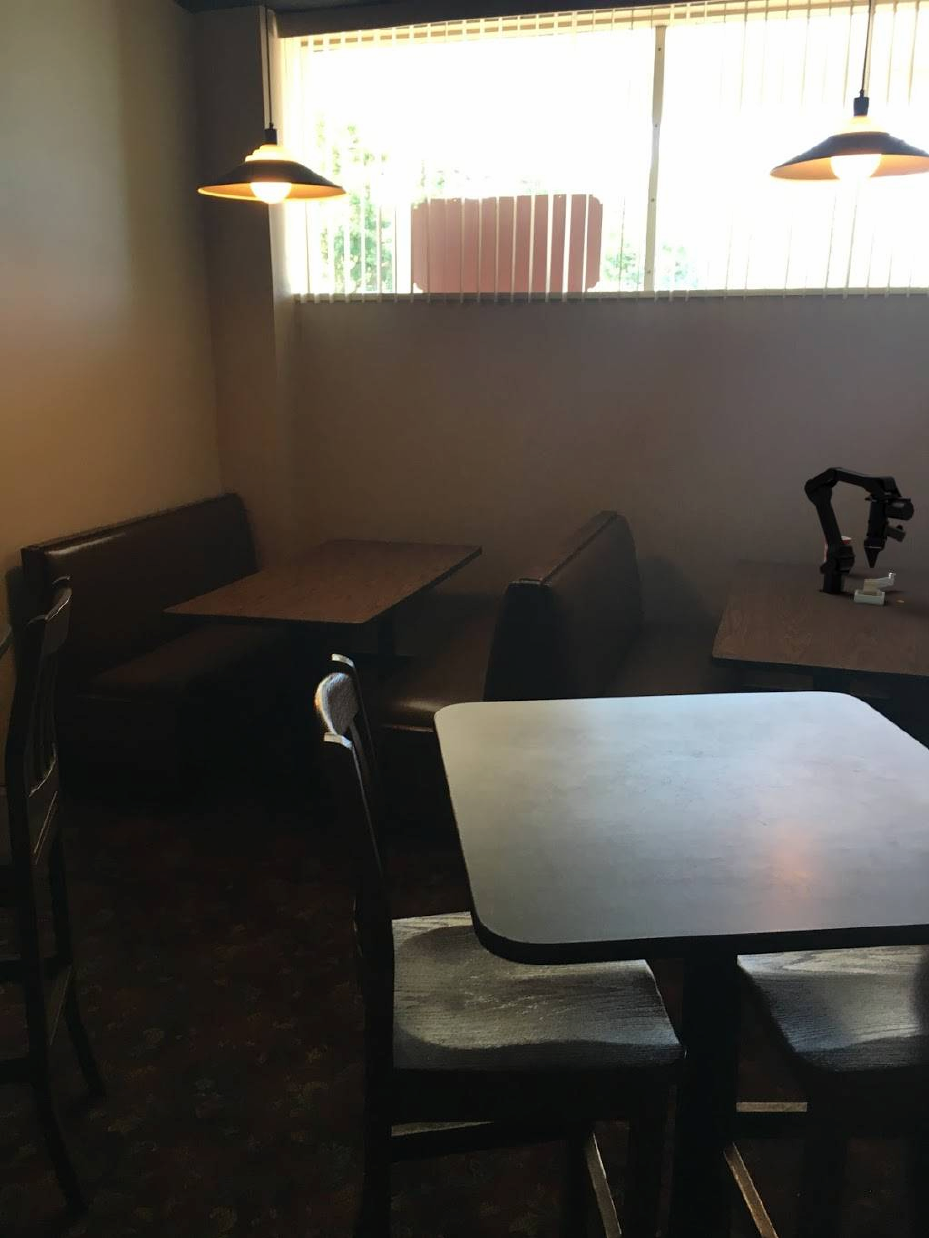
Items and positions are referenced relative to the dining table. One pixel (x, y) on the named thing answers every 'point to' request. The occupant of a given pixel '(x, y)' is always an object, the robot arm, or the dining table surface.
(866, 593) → the stop block
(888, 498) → the robot arm
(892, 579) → the crank
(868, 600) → the stop tray
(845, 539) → the mug
